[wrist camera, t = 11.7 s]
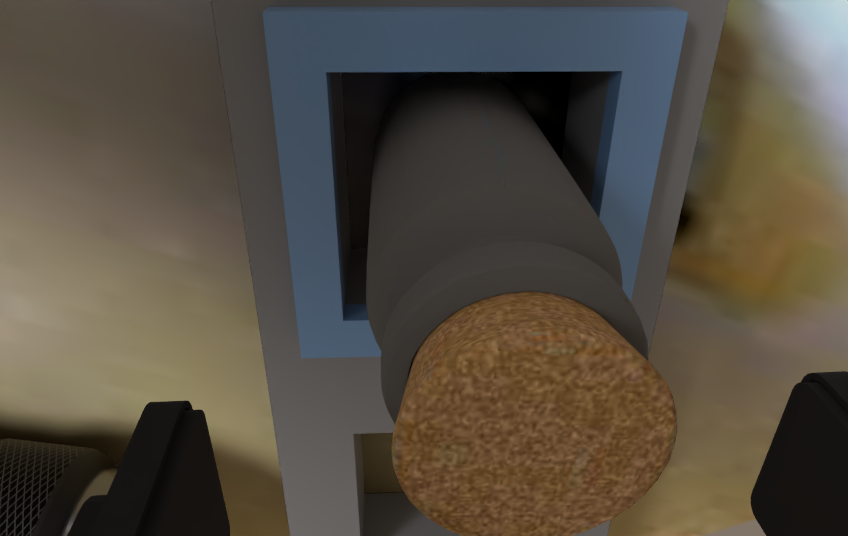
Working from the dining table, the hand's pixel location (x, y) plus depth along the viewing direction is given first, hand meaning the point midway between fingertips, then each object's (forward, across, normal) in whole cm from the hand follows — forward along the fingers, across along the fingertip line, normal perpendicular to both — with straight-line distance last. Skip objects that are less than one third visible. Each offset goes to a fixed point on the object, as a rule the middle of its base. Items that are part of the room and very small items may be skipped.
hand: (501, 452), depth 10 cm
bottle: (+15, -1, 0) cm, 15 cm away
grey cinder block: (+15, -1, +8) cm, 17 cm away
